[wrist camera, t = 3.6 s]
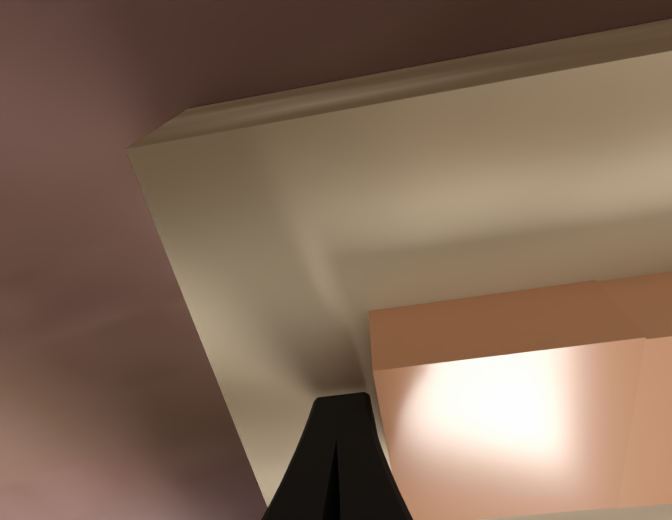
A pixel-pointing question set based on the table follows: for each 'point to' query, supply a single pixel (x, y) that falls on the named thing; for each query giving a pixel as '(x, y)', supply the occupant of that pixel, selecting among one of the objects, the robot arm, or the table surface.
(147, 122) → the table surface
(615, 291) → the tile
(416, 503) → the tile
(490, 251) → the beige square tray
